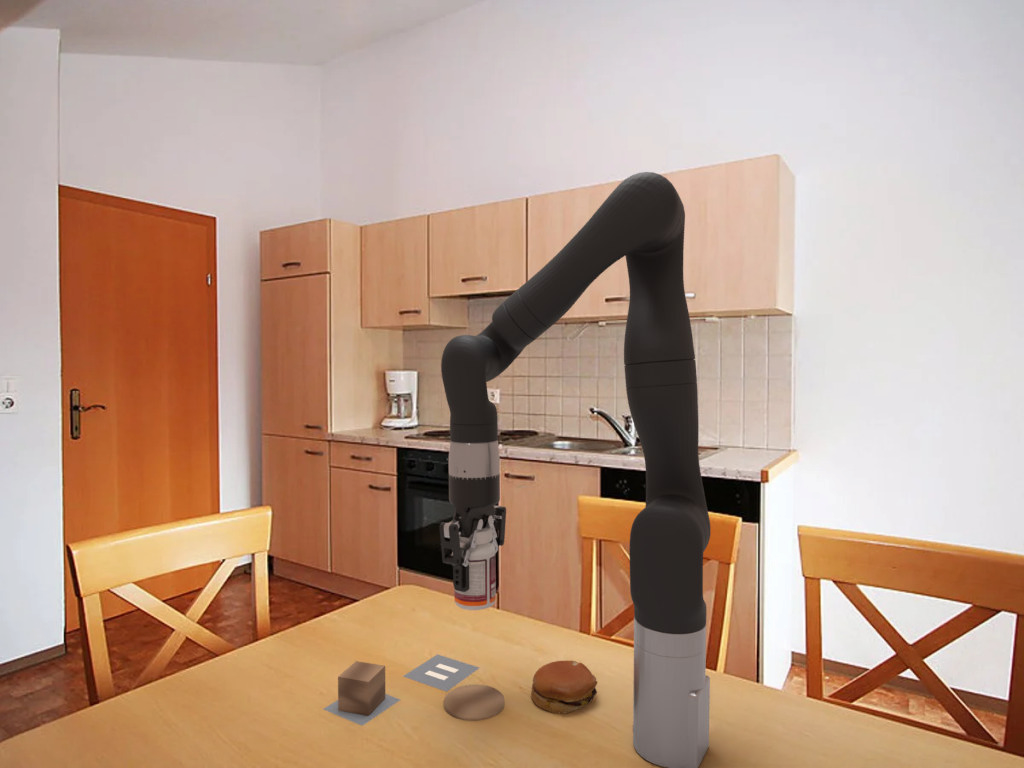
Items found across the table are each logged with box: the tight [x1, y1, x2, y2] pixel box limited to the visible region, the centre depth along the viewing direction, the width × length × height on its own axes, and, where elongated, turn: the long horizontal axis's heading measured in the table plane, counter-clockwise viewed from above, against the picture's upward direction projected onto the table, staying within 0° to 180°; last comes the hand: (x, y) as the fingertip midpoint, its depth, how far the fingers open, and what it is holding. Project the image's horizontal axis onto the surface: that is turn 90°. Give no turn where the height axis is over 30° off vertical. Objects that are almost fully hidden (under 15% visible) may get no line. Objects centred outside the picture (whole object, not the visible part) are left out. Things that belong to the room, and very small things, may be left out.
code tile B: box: [323, 693, 401, 726], centre depth 94 cm, size 8×8×1 cm
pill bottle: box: [453, 527, 497, 611], centre depth 93 cm, size 6×6×11 cm
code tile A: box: [402, 653, 480, 693], centre depth 104 cm, size 9×9×1 cm
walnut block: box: [337, 660, 386, 716], centre depth 94 cm, size 5×5×5 cm
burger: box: [530, 660, 598, 714], centre depth 96 cm, size 10×9×5 cm
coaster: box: [443, 683, 505, 722], centre depth 94 cm, size 9×9×1 cm
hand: (475, 583), depth 94 cm, fingers closed on pill bottle, 6 cm apart
